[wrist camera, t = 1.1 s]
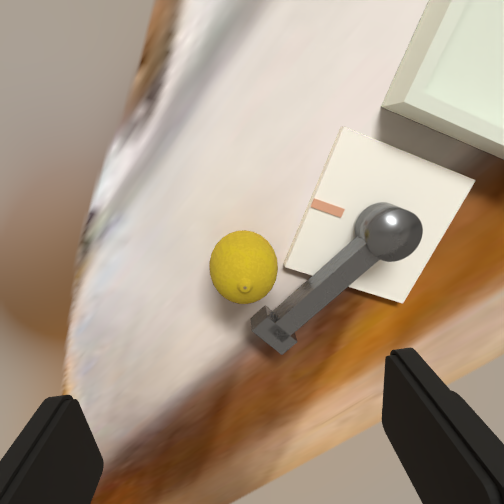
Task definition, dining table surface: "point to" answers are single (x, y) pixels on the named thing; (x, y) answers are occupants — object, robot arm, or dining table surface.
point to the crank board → (370, 192)
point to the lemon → (243, 267)
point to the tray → (455, 73)
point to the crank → (342, 271)
